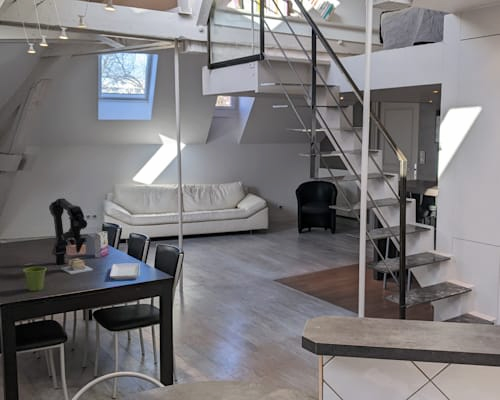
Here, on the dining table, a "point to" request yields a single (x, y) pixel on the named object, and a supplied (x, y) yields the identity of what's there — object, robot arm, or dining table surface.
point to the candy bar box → (101, 244)
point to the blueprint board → (76, 270)
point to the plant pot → (35, 277)
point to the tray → (125, 271)
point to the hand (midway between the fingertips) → (76, 251)
